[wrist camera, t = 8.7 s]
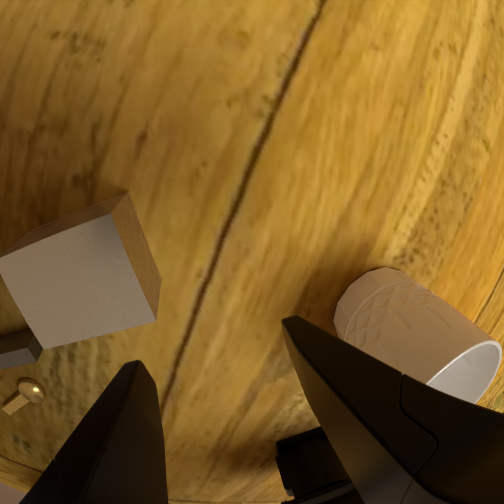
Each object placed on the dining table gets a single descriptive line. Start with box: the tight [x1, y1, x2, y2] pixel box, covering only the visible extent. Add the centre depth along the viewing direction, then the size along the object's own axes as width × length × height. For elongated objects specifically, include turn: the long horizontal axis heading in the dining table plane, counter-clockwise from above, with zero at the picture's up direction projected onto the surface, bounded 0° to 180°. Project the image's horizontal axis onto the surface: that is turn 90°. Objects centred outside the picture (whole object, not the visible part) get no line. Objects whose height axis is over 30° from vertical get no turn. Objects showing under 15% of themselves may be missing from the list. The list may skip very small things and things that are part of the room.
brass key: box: [2, 377, 45, 415], centre depth 20 cm, size 7×2×1 cm, turn 124°
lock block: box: [0, 191, 162, 349], centre depth 15 cm, size 7×6×4 cm
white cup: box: [333, 267, 502, 404], centre depth 18 cm, size 8×8×10 cm
